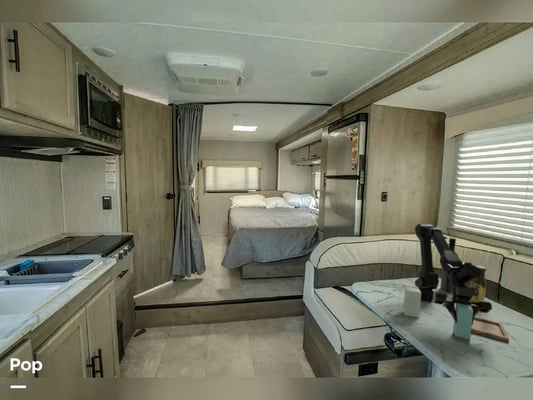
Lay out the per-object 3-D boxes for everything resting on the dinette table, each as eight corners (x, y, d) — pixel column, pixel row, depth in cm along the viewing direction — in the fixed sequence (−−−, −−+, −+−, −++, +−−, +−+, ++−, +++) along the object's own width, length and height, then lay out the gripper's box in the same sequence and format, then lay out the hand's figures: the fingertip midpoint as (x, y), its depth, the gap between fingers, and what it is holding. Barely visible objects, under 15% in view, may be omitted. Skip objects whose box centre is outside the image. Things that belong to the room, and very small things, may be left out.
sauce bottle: (464, 301, 134) (468, 264, 132) (475, 301, 134) (479, 264, 133) (475, 308, 127) (480, 269, 125) (487, 307, 128) (491, 268, 126)
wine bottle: (456, 292, 144) (461, 239, 141) (446, 292, 144) (451, 239, 141) (449, 288, 150) (454, 237, 147) (439, 287, 150) (444, 237, 147)
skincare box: (417, 313, 121) (419, 288, 120) (419, 318, 117) (421, 292, 116) (402, 311, 123) (404, 286, 122) (404, 315, 119) (406, 290, 118)
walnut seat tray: (466, 331, 108) (467, 327, 108) (463, 317, 119) (463, 313, 119) (508, 342, 101) (509, 338, 101) (500, 326, 112) (501, 322, 112)
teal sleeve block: (455, 339, 102) (458, 308, 101) (452, 333, 106) (455, 302, 105) (469, 342, 100) (473, 310, 99) (466, 336, 104) (469, 305, 103)
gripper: (436, 273, 108) (439, 311, 99) (493, 282, 101) (501, 323, 92) (432, 284, 116) (434, 320, 107) (484, 293, 109) (491, 332, 100)
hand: (463, 323), depth 101 cm, fingers closed on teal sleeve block, 4 cm apart
